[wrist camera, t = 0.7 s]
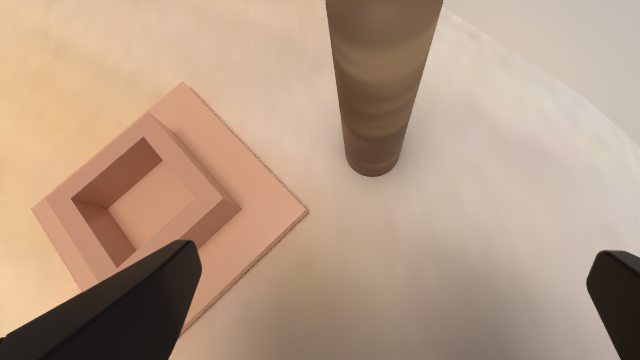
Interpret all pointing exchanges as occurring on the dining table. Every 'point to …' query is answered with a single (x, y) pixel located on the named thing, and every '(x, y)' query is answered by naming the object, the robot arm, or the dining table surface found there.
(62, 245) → the pink square stand base
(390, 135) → the thick brown pillar
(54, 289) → the dining table surface
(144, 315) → the robot arm
